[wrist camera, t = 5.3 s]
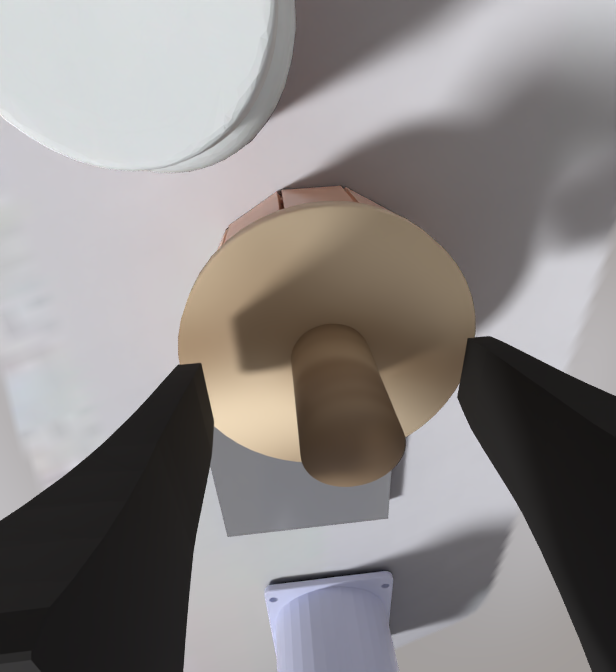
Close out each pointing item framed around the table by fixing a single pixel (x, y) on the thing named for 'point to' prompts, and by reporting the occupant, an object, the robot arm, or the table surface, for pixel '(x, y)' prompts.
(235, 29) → the pill bottle
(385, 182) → the table surface
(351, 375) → the lid
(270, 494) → the coaster
